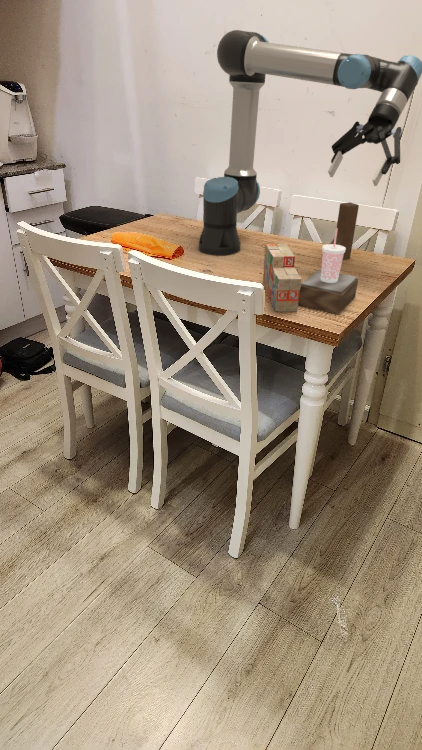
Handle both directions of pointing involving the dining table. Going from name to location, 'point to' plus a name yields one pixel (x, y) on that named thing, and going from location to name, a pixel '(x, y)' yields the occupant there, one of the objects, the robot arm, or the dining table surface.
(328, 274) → the beverage cup
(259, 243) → the dining table surface
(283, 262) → the stack of blocks
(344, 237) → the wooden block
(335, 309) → the plinth
